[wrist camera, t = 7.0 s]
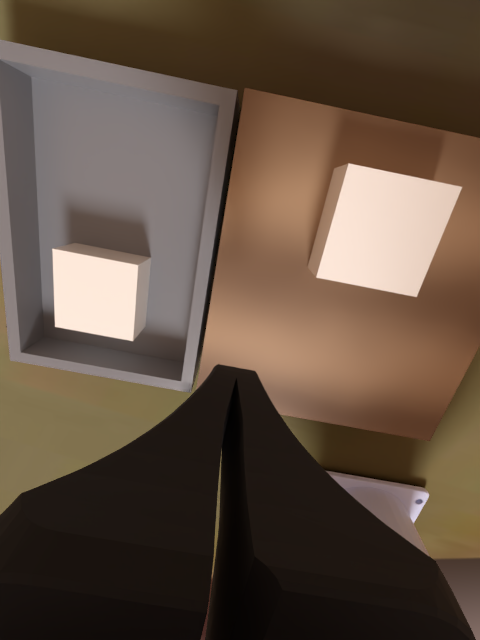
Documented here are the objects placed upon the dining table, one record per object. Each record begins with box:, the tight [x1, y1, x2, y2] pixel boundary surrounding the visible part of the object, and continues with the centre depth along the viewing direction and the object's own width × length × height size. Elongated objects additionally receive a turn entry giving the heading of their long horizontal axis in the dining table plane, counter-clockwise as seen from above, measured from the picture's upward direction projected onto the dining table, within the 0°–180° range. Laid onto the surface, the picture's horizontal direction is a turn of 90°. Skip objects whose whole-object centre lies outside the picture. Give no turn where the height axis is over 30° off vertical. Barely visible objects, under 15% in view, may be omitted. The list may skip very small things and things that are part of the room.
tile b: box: [308, 163, 462, 297], centre depth 12 cm, size 4×4×2 cm
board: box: [196, 88, 480, 441], centre depth 16 cm, size 14×13×3 cm
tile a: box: [52, 243, 151, 341], centre depth 16 cm, size 4×4×2 cm
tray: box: [0, 40, 240, 393], centre depth 16 cm, size 14×10×2 cm
